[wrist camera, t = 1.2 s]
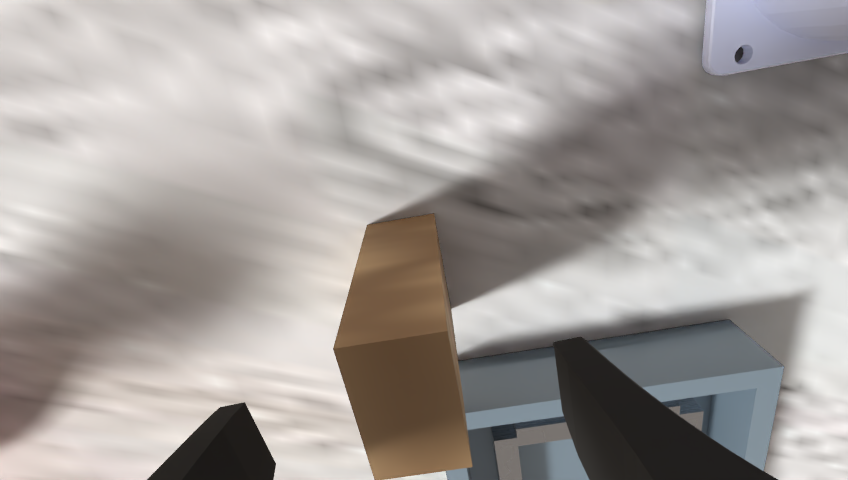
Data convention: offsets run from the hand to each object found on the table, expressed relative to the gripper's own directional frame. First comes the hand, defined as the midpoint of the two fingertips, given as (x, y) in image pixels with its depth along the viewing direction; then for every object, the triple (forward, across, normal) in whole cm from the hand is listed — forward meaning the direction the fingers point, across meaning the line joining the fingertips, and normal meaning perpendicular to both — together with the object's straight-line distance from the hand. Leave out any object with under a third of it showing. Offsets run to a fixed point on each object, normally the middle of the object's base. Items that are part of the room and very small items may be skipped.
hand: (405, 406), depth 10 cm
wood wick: (+7, 0, 0) cm, 7 cm away
